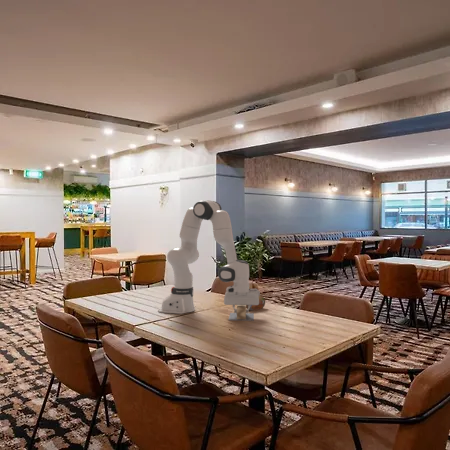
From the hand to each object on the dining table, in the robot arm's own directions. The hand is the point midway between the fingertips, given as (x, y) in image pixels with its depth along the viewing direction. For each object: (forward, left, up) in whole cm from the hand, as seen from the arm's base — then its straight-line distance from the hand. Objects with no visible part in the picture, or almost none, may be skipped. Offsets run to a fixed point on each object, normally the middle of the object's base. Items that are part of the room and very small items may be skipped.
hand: (241, 312), depth 231 cm
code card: (0, 0, -2) cm, 2 cm away
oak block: (0, 0, -2) cm, 2 cm away
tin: (+8, +20, -3) cm, 22 cm away
